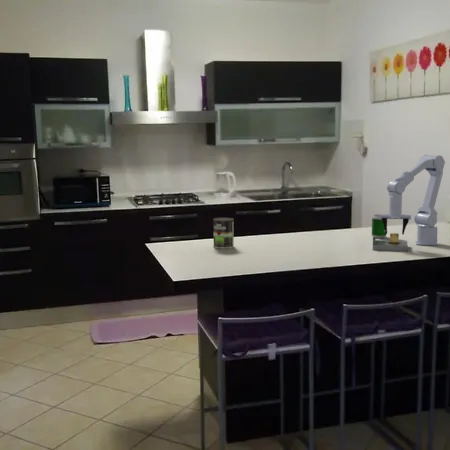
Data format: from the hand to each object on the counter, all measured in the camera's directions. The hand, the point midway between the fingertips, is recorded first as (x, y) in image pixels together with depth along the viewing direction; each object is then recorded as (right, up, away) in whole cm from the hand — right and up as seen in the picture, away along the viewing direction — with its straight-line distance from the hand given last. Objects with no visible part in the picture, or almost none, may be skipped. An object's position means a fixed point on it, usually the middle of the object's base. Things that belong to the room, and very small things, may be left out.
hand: (394, 233), depth 271 cm
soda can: (0, -3, +28) cm, 28 cm away
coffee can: (-83, -7, +10) cm, 83 cm away
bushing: (0, -7, +1) cm, 7 cm away
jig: (-2, -7, +1) cm, 7 cm away
